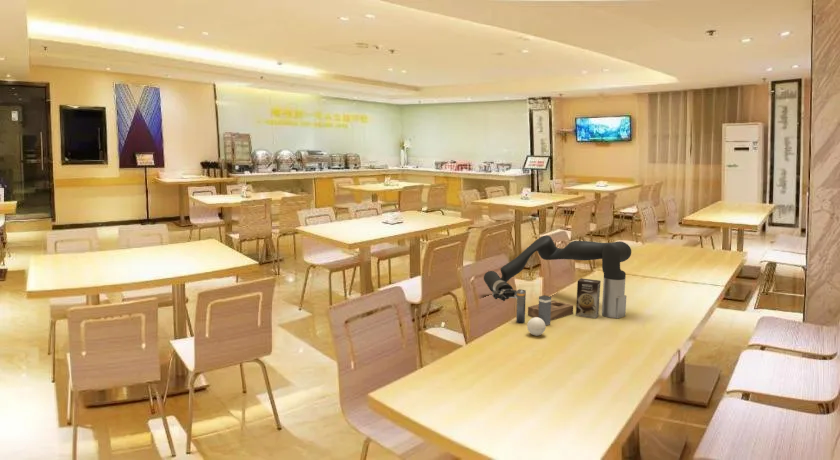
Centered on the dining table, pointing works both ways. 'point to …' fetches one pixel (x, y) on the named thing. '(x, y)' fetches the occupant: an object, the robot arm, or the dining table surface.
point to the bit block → (553, 310)
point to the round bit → (521, 306)
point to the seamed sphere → (536, 326)
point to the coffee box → (588, 298)
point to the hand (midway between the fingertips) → (513, 298)
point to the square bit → (545, 309)
